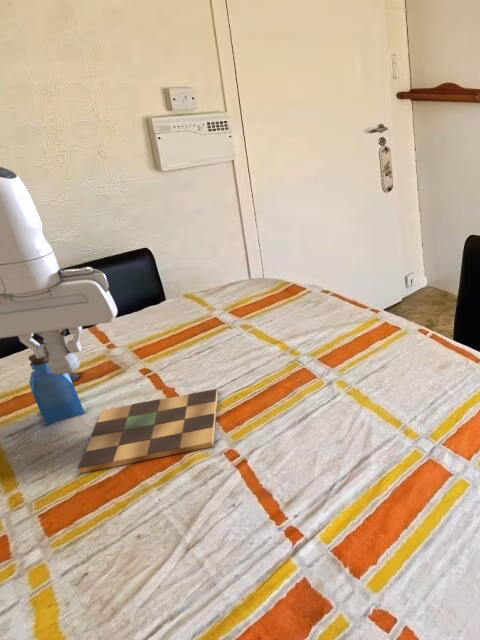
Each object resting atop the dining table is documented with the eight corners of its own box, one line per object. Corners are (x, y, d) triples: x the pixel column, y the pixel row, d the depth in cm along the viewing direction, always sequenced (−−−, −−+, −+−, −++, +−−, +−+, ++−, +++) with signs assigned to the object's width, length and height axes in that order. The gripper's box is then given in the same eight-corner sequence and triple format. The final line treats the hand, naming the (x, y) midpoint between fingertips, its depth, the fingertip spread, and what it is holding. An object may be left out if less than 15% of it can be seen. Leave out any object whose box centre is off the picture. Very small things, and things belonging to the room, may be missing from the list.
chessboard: (80, 473, 101) (78, 468, 100) (103, 414, 117) (101, 409, 117) (213, 446, 107) (211, 441, 106) (217, 393, 123) (216, 389, 123)
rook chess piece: (86, 366, 106) (68, 322, 102) (58, 377, 102) (39, 332, 98) (72, 361, 108) (54, 318, 104) (45, 371, 104) (25, 327, 100)
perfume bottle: (46, 424, 115) (19, 366, 109) (41, 411, 119) (16, 355, 113) (84, 412, 118) (61, 356, 112) (79, 400, 122) (56, 345, 117)
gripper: (105, 259, 103) (132, 336, 109) (-43, 277, 97) (-6, 357, 103) (98, 270, 98) (126, 350, 104) (-60, 290, 92) (-19, 373, 98)
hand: (59, 354), depth 104 cm, fingers closed on rook chess piece, 3 cm apart
